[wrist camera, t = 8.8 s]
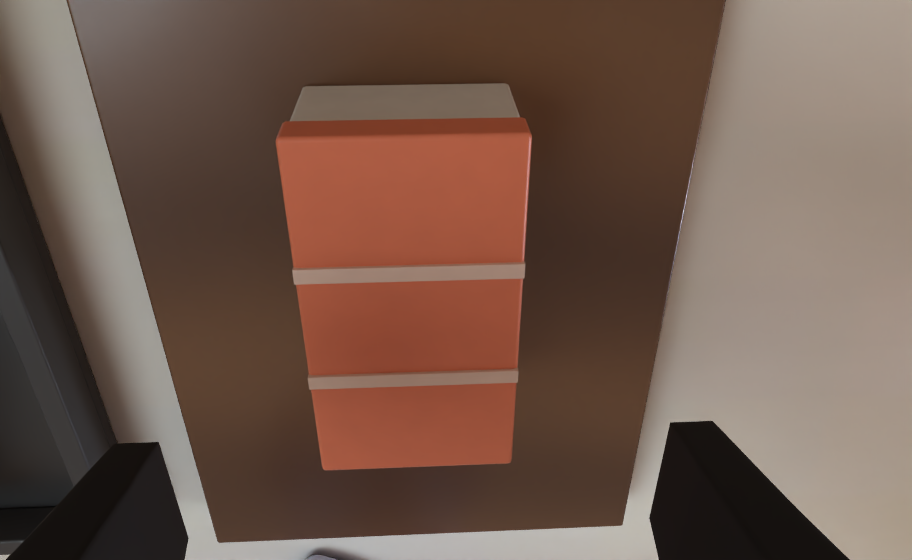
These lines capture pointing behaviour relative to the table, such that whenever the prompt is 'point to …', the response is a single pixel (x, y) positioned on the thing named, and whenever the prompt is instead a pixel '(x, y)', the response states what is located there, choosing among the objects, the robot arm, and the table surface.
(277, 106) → the serving board
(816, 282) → the table surface
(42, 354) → the sushi tray
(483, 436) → the salmon nigiri
